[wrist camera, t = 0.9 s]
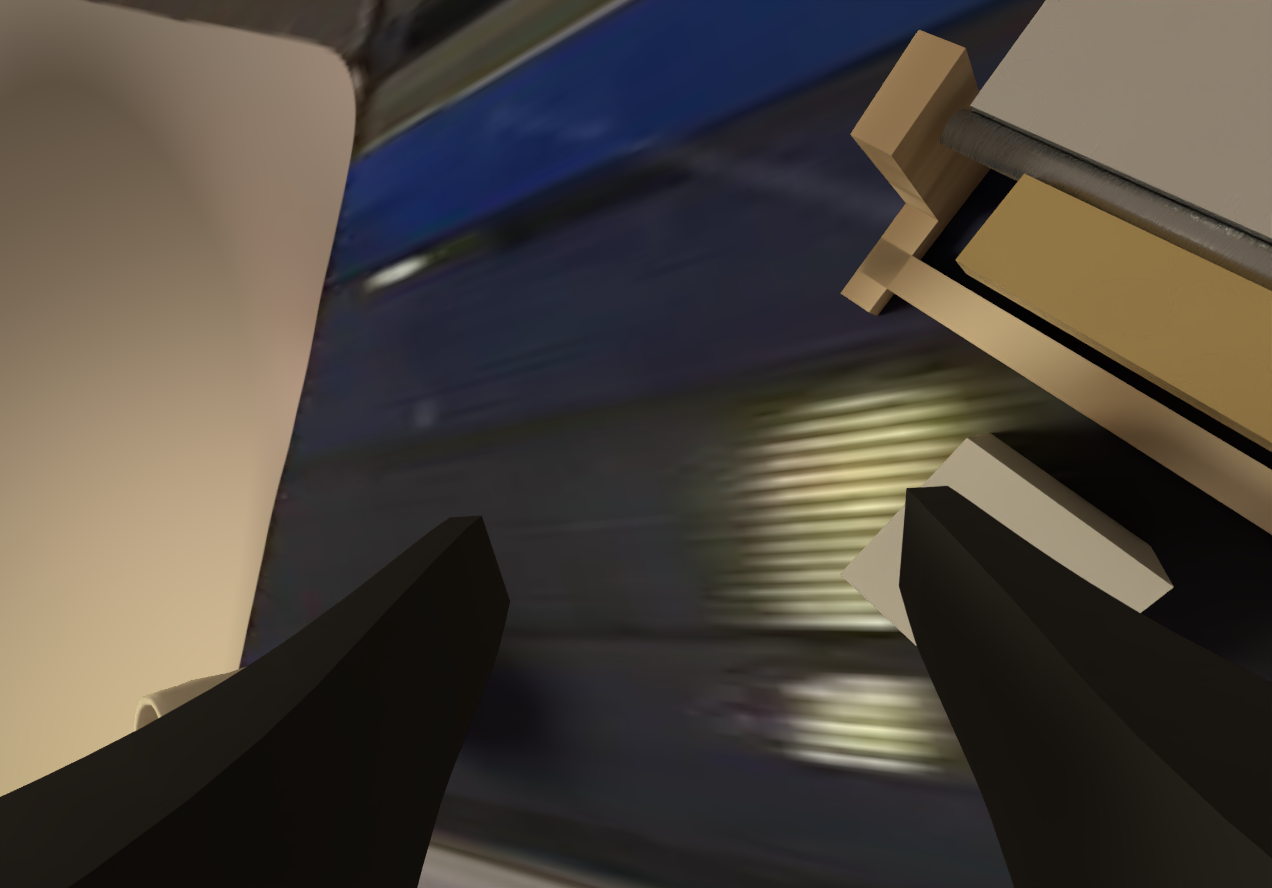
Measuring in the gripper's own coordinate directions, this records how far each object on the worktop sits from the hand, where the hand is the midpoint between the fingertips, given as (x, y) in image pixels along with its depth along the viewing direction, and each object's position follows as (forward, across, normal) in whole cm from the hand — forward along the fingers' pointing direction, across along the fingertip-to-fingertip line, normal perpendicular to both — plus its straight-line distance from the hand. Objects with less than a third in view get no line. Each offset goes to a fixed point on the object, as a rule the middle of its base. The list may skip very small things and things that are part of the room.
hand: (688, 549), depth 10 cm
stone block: (+8, -9, +7) cm, 14 cm away
